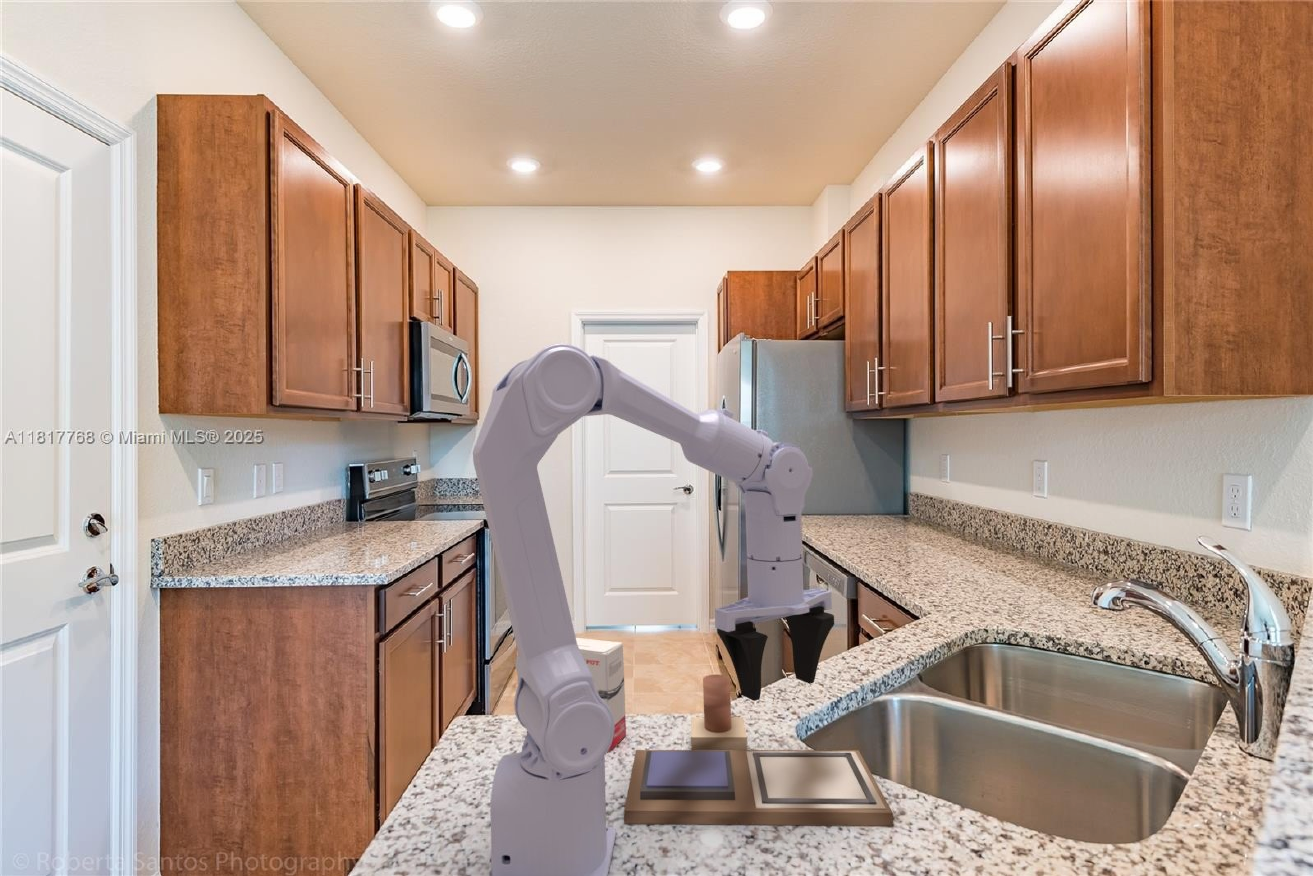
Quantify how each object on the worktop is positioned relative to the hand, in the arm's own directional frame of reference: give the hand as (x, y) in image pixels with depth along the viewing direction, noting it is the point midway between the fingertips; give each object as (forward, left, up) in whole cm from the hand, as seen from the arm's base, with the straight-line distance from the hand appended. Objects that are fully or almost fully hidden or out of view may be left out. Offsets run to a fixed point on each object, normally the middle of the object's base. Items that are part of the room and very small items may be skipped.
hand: (778, 688), depth 64 cm
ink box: (-22, +11, -10) cm, 27 cm away
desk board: (-3, 0, -10) cm, 11 cm away
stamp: (-6, +9, -10) cm, 15 cm away
